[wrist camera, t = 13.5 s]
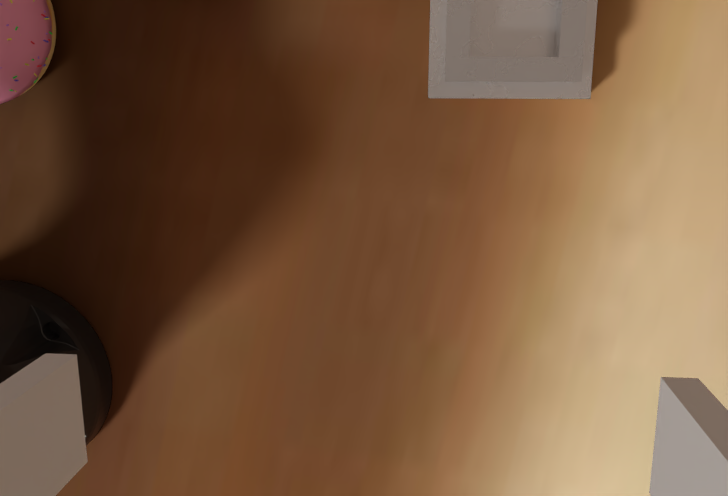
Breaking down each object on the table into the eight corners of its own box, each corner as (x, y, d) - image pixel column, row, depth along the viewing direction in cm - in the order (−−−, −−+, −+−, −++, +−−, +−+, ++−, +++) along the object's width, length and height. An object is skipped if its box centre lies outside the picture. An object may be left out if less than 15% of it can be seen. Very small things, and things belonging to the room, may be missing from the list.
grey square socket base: (428, 97, 46) (427, 98, 42) (432, -65, 43) (432, -81, 39) (583, 98, 45) (597, 99, 41) (595, -68, 42) (611, -85, 38)
